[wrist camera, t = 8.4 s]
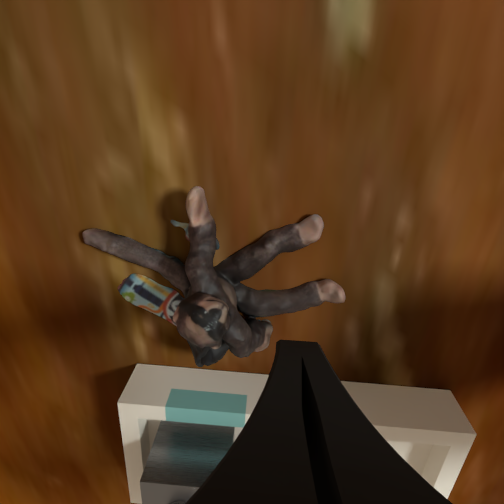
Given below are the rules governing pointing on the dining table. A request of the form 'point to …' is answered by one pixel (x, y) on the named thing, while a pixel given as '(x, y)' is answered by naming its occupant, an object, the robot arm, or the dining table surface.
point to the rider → (182, 460)
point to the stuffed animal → (217, 283)
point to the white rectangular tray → (247, 395)
